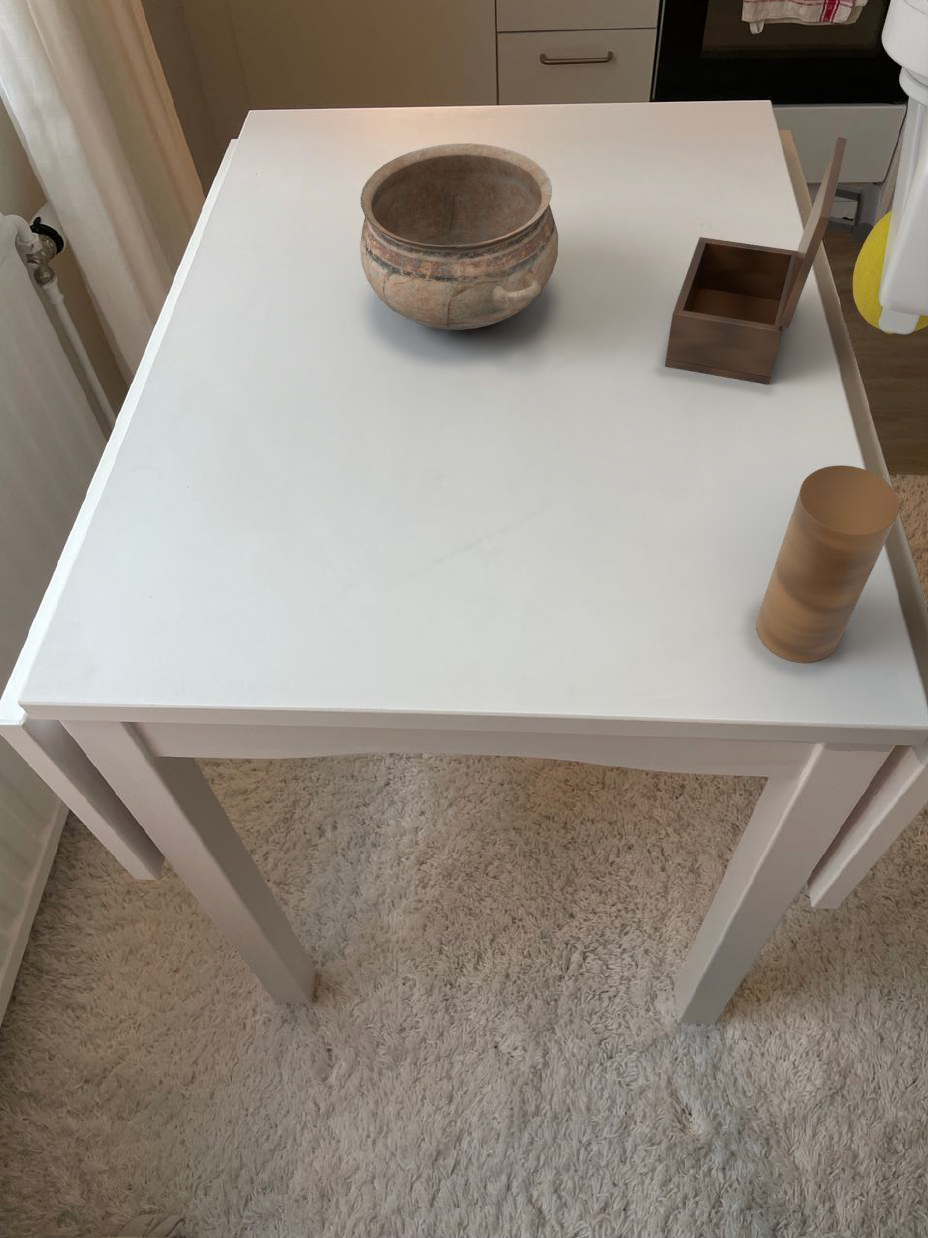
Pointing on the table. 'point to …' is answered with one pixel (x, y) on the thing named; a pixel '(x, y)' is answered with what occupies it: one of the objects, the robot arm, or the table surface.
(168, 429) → the table surface
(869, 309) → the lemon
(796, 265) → the lid
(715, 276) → the chest
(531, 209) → the cooking pot
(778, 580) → the stand
